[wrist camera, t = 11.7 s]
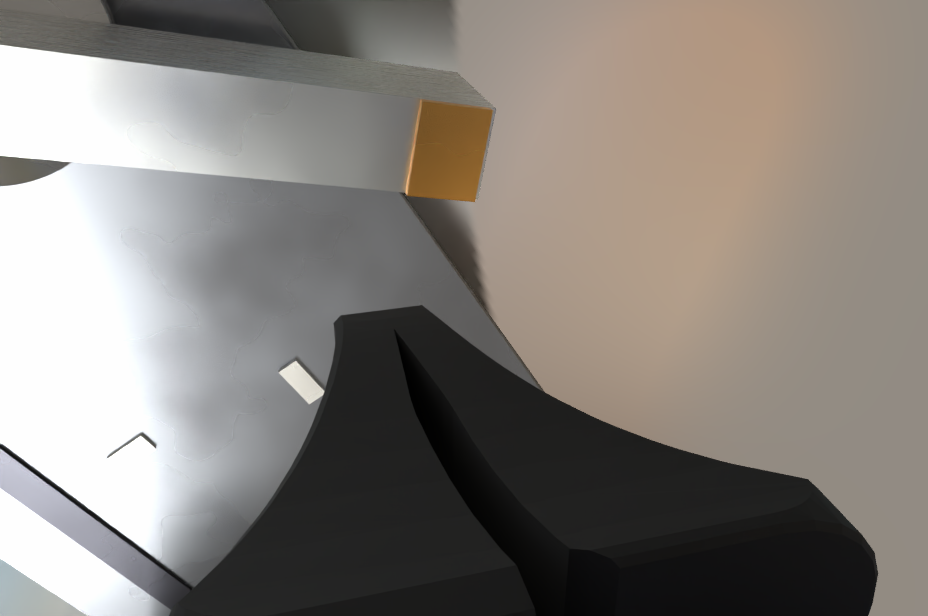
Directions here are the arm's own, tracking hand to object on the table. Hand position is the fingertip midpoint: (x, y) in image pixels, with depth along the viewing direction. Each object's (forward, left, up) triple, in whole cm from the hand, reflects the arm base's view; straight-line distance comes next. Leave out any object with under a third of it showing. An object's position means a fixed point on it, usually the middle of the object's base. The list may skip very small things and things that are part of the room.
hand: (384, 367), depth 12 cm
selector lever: (-4, -1, -6) cm, 8 cm away
